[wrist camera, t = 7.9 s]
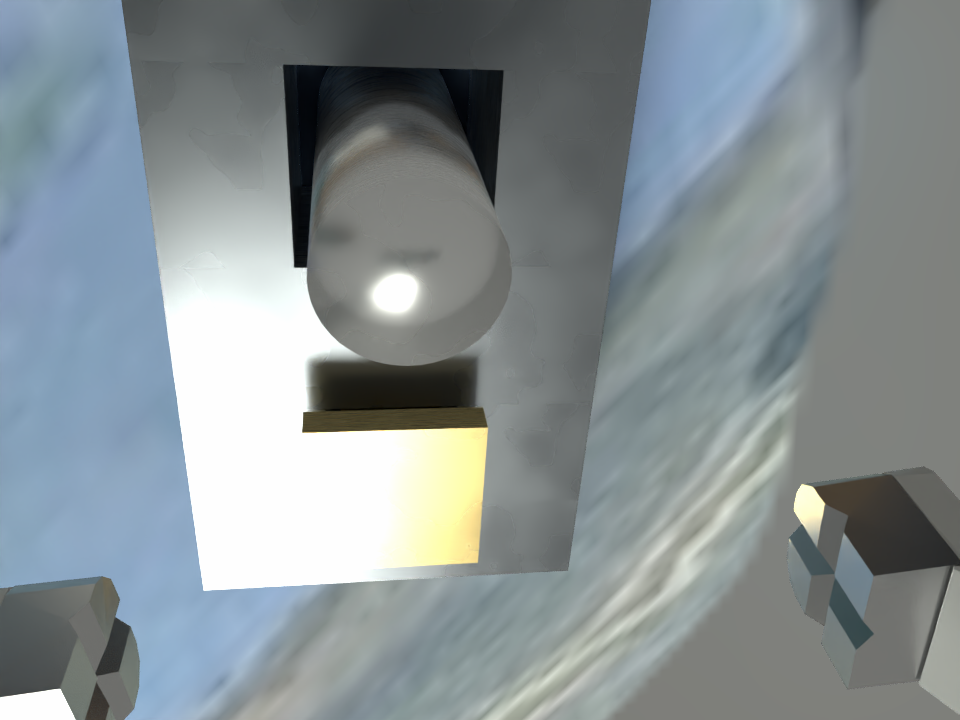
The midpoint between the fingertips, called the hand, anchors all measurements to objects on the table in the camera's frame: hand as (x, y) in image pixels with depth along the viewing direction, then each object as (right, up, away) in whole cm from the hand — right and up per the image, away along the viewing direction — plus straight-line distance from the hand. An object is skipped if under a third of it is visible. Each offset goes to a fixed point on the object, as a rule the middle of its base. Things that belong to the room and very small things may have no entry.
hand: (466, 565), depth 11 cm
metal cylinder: (-3, +10, +17) cm, 20 cm away
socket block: (-3, +7, +19) cm, 20 cm away
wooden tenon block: (-3, +2, +21) cm, 22 cm away
